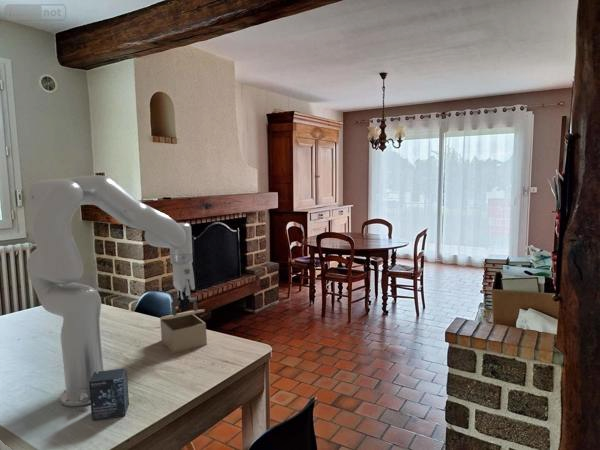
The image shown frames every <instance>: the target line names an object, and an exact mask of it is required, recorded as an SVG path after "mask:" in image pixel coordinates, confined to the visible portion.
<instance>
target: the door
mask: <svg viewBox="0 0 600 450" xmlns="http://www.w3.org/2000/svg"><path fill="white" fill-rule="evenodd" d="M189 301H190V303H192V306H193V310H186V311H183V312H178V313H177V308H176V306H178V305H180V301H178V300H175V301H171V302H170V305H171V311H172V314H169V315H164V316H161V317H160V316H159V320H161V319H172V318H177V317H182V316H186V315H191V314H194V315H196V314H199V313H204V312H205V308H203V309H199V308H198V304H197V297H196V296H195V297H191V298H189Z"/></svg>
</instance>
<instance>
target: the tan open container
mask: <svg viewBox="0 0 600 450" xmlns="http://www.w3.org/2000/svg"><path fill="white" fill-rule="evenodd" d="M159 320H160V319H159ZM159 323H160V332H161V333H160V335H161V342H162V343H163V344H165V346H166V347H167V348H168V349H169V351H171V353H172V354H173V355H174V354H179V353H181V352H184V351H189V350H192V349H197V348H199V347H204V346H206V345H208V342H207V340H208V339H207V324H206V322H205V321H204V320H202V319H201V318H199V317H198V316H196V314H191V315H186V316H182V317H177V318H172V319H161V320H160V321H159Z"/></svg>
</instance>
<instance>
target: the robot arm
mask: <svg viewBox="0 0 600 450" xmlns="http://www.w3.org/2000/svg"><path fill="white" fill-rule="evenodd" d="M26 199H27V201H28V203H29V205H31V207H32V208H34V209H35V210H36V211H35V213H34V216H33V219H32V222H31V223H32V224H31V233H32V237H33V240H34V244H35V246H36V248H35V249H34V250H33V251H32V252H31V253H30V254H29V255H28V257H27V261H26V269H27V275H28V277H29V279H30V282H31V284H32V287H33V289H34V292H35V294H36V296H37V299H38V302H39V303H40V305H41V307H42V308H43V309H44V310H45V311H46V312H48V313H50V314H53V315H56V316H59V317H61V318H62V319H63V320H62V326H61V330H60V345H61V351H62V352H61V353H62V362H63V364H62V365H63V372H64V381H65V389H64V390H63V391H62V392H61V394H60V396H59V398H60V399H59V400H60V402H61V403H60V404H62V405H64V406H67V407H80V406H86V405H89V404H90V405H91V401H90V389H89V381H90V379H91V377H92V376H93V374H94V372H96V371H104V361H103V350H102V348H103V347H102V338H101V325H100V324H101V322H100V321H101V320H100V318H101V310H102V299H101V296H100V293H99V292H98V290H97V289H95V288H94V287H92V286H90V285H88V284H84V283H79V282H76V281H78V280H79V279H81V277H82V275H83V274H84V263H83V260H82V256H81V254H80V252H79V249H78V247H77V244H76V241H75V238H74V235H73V232H72V220H73V217H74V215H75V213H76V211H77V210H78V208H80V206H83V205H85V206H86V205H90V206H91V205H93V206H96V207H98V208H99V209H101V210H102V211H103V212H104V213H106V214H108V215H109V216H110V217H112V218H114V219H115V220H116V221H118V222H119V223H120V224H122V225H124V226H127V227H129V228H133V229H137V230H139V231H144V241H145V242H146V243H147V245H150V246H152V247H154V248H165V249H169V257H170V261H169V262H170V264H171V265H172V283H173V287H174V288H175V289H176V291H177V301H180V305H177V307H178V309H179V310H180V311H183V312H184V311H189V310H190V309H191V307H190V306H191V302H190V301H189V299H190V297H191V291H195V289H196V286H195V276H194V275H195V274H194V270H193V269H194V267H193V262H194V259H193V239H192V236H193V235H192V226H191V224H190V223H188V222H177V221H176V220H174V219H173V218H172V217H170V216H169V215H167V214H165V213H164V212H161V211H159V210H158V209H155V208H154V207H151V206H150V205H148V204H145V203H144V202H141V201H140V200H139V199H137V198H136V197H135V196H134V195H132V194H131V193H130V192H128V191H127V190H126V189H125V188H124V187H122V186H121V185H120V184H119V183H117V182H116V181H114V180H113V178H111V177H108V176H106V175H97V174H95V175H80V176H79V175H78V176H72V177H64V178H62V177H61V178H51V179H41V180H40V179H39V180H37V181H35V182H33V183H31V185H29V187H28V188H27V192H26Z"/></svg>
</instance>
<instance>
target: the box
mask: <svg viewBox="0 0 600 450" xmlns="http://www.w3.org/2000/svg"><path fill="white" fill-rule="evenodd" d="M128 383H129V382H128V371H127V368H126V367H125V368H117V369H109V370H108V369H107V370H103V371H96V372H94V374H93V376H92V377H91V379H90V381H89V389H90V401H91V403H90V411H91V421H97V420H106V419H111V418H112V419H113V418H121V417H122V418H123V417H125V416H126V414H127V412H128V408H129V406H130V399H129V384H128Z"/></svg>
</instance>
